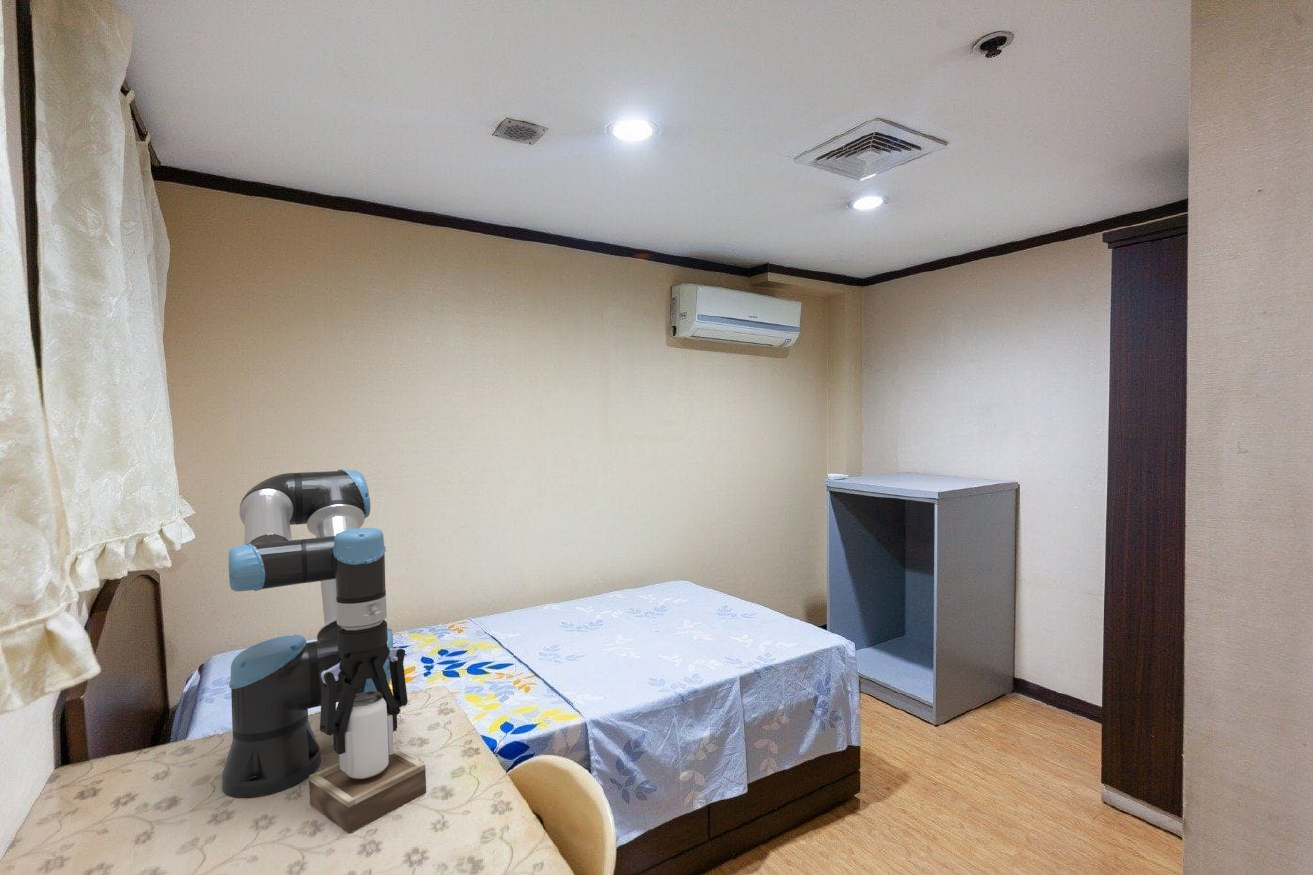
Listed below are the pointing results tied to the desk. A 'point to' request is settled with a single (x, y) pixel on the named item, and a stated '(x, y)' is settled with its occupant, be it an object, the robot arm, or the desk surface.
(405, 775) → the wooden tray
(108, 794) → the desk surface
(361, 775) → the can
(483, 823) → the desk surface
